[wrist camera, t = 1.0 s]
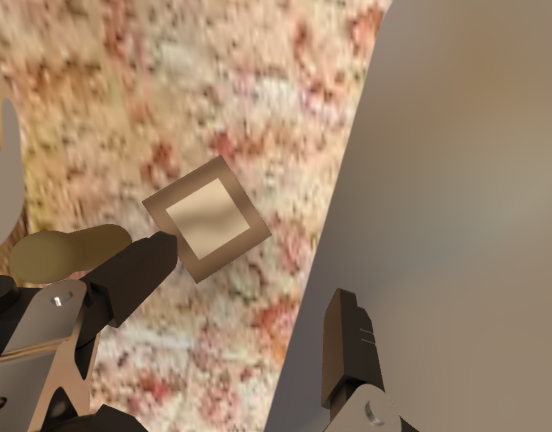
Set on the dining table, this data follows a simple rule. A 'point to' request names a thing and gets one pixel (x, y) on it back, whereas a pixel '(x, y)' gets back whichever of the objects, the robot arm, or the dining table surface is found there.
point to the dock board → (208, 218)
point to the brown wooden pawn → (65, 252)
